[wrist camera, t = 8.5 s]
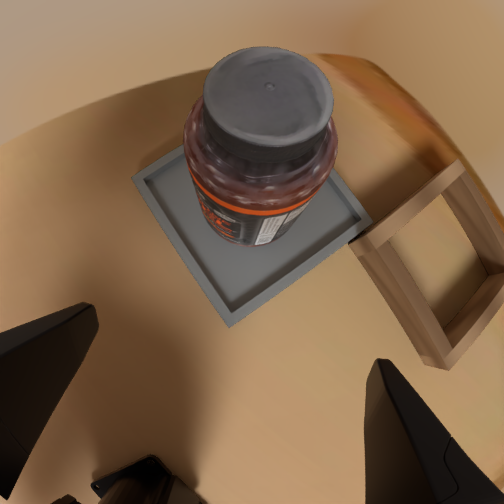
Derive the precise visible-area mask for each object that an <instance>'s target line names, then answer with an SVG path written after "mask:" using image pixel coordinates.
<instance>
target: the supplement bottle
mask: <svg viewBox="0 0 504 504" xmlns="http://www.w3.org/2000/svg"><path fill="white" fill-rule="evenodd" d="M333 104H334V98H333V93H332V88H331V86H330V83H329V81H328V79H327V78H326V76H325V75H324V73H323V72H322V71H321V70H320V69H319V68H318V67H317V66H316V65H315V64H314V63H312V62H310V61H309V60H308V59H307V58H305V57H303V56H301V55H299V54H297V53H295V52H291V51H289V50H285V49H281V48H276V47H251V48H246V49H241V50H238V51H236V52H234V53H232V54H229V55H228V56H226V57H224V58H223V59H221V60H220V61H219V62H217V63H216V65H215V66H214V67H213V68H212V69H211V70H210V72H209V74H208V75H207V77H206V79H205V83H204V88H203V94H202V95H201V97H200V98H199V99H198V100H197V101H196V103H195V104H194V105H193V107H192V109H191V111H190V113H189V114H188V117H187V120H186V123H185V127H184V136H183V145H184V154H185V157H186V161H187V165H188V169H189V173H190V175H191V178H192V182H193V185H194V187H195V191H196V194H197V197H198V200H199V204H200V206H201V210H202V212H203V215H204V218H205V219H206V221H207V223H208V224H209V225H210V227H211V228H212V229H213V230H214V231H215V232H216V233H217V234H218V235H219V236H220V237H222V238H223V239H225V240H226V241H228V242H230V243H233V244H236V245H239V246H243V247H256V246H263V245H266V244H269V243H271V242H274V241H275V240H277V239H279V238H280V237H281V236H283V235H284V234H285V233H286V232H287V231H288V230H289V229H290V228H291V226H292V225H293V224H294V222H295V221H296V220H297V218H298V217H299V216H300V215H301V213H302V212H303V210H304V209H305V208H306V206H307V205H308V204H309V202H310V201H311V200H312V198H313V197H314V196H315V194H316V193H317V192H318V191H319V189H320V188H321V186H322V185H323V183H324V182H325V181H326V179H327V178H328V176H329V174H330V172H331V170H332V168H333V166H334V163H335V159H336V156H337V149H338V137H337V131H336V128H335V125H334V122H333V119H332V117H331V114H332V112H333Z"/></svg>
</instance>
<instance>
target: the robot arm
mask: <svg viewBox="0 0 504 504" xmlns="http://www.w3.org/2000/svg"><path fill="white" fill-rule="evenodd" d="M98 328H99V323H98V318H97V314H96V310H95V307H94V305H92V304H89V303H86V302H82V303H79V304H76V305H74V306H71V307H68V308H66V309H63V310H60V311H57V312H55V313H52V314H49V315H47V316H44V317H41V318H39V319H36V320H33V321H31V322H28V323H25V324H23V325H20V326H18V327H15V328H12V329H10V330H7V331H4V332H2V333H0V495H1V496H2V497H3V498H4V499H6V500H8V498H9V497H10V495H11V492H12V490H13V488H14V486H15V484H16V482H17V480H18V478H19V476H20V473H21V471H22V469H23V467H24V465H25V463H26V461H27V459H28V457H29V455H30V453H31V451H32V449H33V448H34V446H35V444H36V442H37V440H38V438H39V436H40V434H41V433H42V431H43V429H44V427H45V425H46V424H47V422H48V420H49V418H50V416H51V415H52V413H53V411H54V409H55V408H56V406H57V404H58V402H59V401H60V399H61V397H62V396H63V394H64V392H65V390H66V389H67V387H68V385H69V384H70V382H71V380H72V379H73V377H74V376H75V374H76V372H77V371H78V369H79V367H80V365H81V364H82V362H83V360H84V358H85V356H86V354H87V352H88V350H89V347H90V345H91V343H92V341H93V339H94V337H95V335H96V334H97V332H98ZM364 444H365V504H504V493H502V492H501V491H500V490H499V489H498V488H497V487H496V485H495V484H494V483H493V482H492V481H491V480H490V479H489V478H488V477H487V476H486V475H485V474H484V473H483V472H482V471H481V470H480V469H479V468H478V467H477V465H476V464H475V463H474V462H473V461H472V460H471V459H470V458H469V457H468V456H467V454H466V453H465V452H464V451H463V449H462V448H461V447H460V446H459V445H458V443H457V442H456V441H455V439H454V438H453V437H451V434H450V433H449V432H448V431H447V429H446V428H445V427H444V426H443V424H442V423H441V422H440V421H439V419H438V418H437V417H436V416H435V414H434V413H433V412H432V411H431V409H430V408H429V407H428V406H427V404H426V403H425V402H424V401H423V399H422V398H421V397H420V396H419V394H418V393H417V392H416V391H415V390H414V388H413V387H412V386H411V385H410V383H409V382H408V381H407V380H406V379H405V377H404V376H403V375H402V374H401V373H400V371H399V370H398V369H397V368H396V366H395V365H394V364H393V363H392V362H391V361H390V360H389V359H380V358H378V359H376V360H375V362H374V364H373V366H372V368H371V371H370V373H369V375H368V378H367V382H366V400H365V417H364ZM149 460H152V461H154V464H152V463H150V462H149ZM96 485H97V486H99V488H98V487H97V486H96ZM91 488H92V489H93V491H94V492H95V493H96V494H97V495H98V496H99V497H100V498H101V500H100V502H99V503H98V504H202V503H201V502H199V498H198V497H197V496H196V495H195V494H194V493H193V492H192V491H191V490H190V489H189V488H188V487H187V486H186V485H185V484H184V483H183V482H182V481H181V480H180V479H179V478H178V477H177V476H176V475H173V474H172V473H171V472H170V471H169V470H168V469H167V468H166V466H165V465H164V464H163V463H162V462H161V461H160V460H159V459H158V457H156V456H155V455H151V454H150V455H147V456H145V457H143V458H141V459H139V460H137V461H135V462H133V463H131V464H129V465H127V466H124V467H122V468H120V469H118V470H116V471H114V472H112V473H110V474H107V475H105V476H103V477H101V478H98V479H96V480H94V481H93V482H92V483H91ZM51 504H81V503H79V502H77V501H76V499H75V498H74V497H72V496H70V495H69V494H67V495H66V496H64V497H62V498H61V499H60V498H59V499H57V500H56V501H54V502H53V503H51Z"/></svg>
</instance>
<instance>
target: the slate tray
mask: <svg viewBox="0 0 504 504" xmlns="http://www.w3.org/2000/svg"><path fill="white" fill-rule="evenodd" d="M131 179H132V180H133V182H134V184H135V185H136V187H137V189H138V190H139V192H140V194H141V195H142V197H143V199H144V200H145V202H146V204H147V205H148V207H149V208H150V210H151V212H152V213H153V215H154V216H155V218H156V220H157V221H158V223H159V224H160V226H161V228H162V229H163V231H164V232H165V234H166V235H167V237H168V239H169V240H170V242H171V243H172V245H173V246H174V248H175V249H176V251H177V253H178V254H179V256H180V257H181V259H182V260H183V262H184V263H185V265H186V266H187V268H188V269H189V271H190V272H191V274H192V275H193V277H194V278H195V280H196V281H197V283H198V284H199V286H200V287H201V289H202V290H203V292H204V293H205V294H206V296H207V297H208V299H209V300H210V302H211V303H212V305H213V306H214V308H215V309H216V310H217V312H218V313H219V315H220V316H221V318H222V319H223V320H224V322H225V323H226V325H227V326H228V327H229V328H230V327H231V326H233V325H234V324H236V323H237V322H239V321H240V320H242V319H243V318H244V317H246V316H247V315H249V314H250V313H252V312H253V311H254V310H256V309H257V308H259V307H260V306H262V305H263V304H264V303H266V302H267V301H269V300H270V299H271V298H273V297H274V296H276V295H277V294H278V293H280V292H281V291H283V290H284V289H285V288H287V287H288V286H289V285H291V284H292V283H294V282H295V281H296V280H298V279H299V278H300V277H302V276H303V275H305V274H306V273H307V272H309V271H310V270H311V269H313V268H314V267H315V266H317V265H318V264H319V263H321V262H322V261H323V260H325V259H326V258H327V257H329V256H330V255H331V254H333V253H334V252H335V251H337V250H338V249H339V248H341V247H342V246H343V245H345V244H346V243H347V242H349V241H350V240H351V239H352V238H354V237H355V236H356V235H358V234H359V233H360V232H362V231H363V230H364V229H365V228H367V227H368V226H369V225H370V224H372V223H373V220H372V219H371V218H370V216H369V215H368V213H367V212H366V211H365V209H364V208H363V206H362V205H361V204H360V202H359V201H358V200H357V198H356V197H355V196H354V194H353V193H352V192H351V190H350V189H349V188H348V186H347V185H346V184H345V182H344V181H343V180H342V178H341V177H340V176H339V175H338V173H337V172H336V171H335V169H334V168H332V170H331V172H330V174H329V176H328V178H327V179H326V181H325V182H324V183H323V185H322V186H321V188H320V189H319V191H318V192H317V193H316V194H315V196H314V197H313V198H312V200H311V201H310V202H309V204H308V205H307V206H306V208H305V209H304V210H303V212H302V213H301V215H300V216H299V217H298V218H297V220H296V221H295V222H294V224H293V225H292V226H291V228H290V229H289V230H288V231H287V232H286V233H285V234H284V235H283V236H281V237H280V238H279V239H277V240H275V241H274V242H271V243H269V244H266V245H263V246H256V247H243V246H239V245H236V244H233V243H230V242H228V241H226V240H225V239H223V238H222V237H220V236H219V235H218V234H217V233H216V232H215V231H214V230H213V229H212V228H211V227H210V225H209V224H208V223H207V221H206V219H205V218H204V215H203V212H202V210H201V206H200V204H199V200H198V197H197V194H196V191H195V187H194V185H193V182H192V178H191V175H190V173H189V169H188V165H187V161H186V157H185V154H184V145H183V144H182V145H181V146H179V147H177V148H176V149H174V150H172V151H171V152H169V153H168V154H166V155H164V156H163V157H161V158H160V159H158V160H156V161H155V162H153V163H152V164H150V165H149V166H147V167H146V168H144V169H143V170H141V171H140V172H138V173H137V174H135V175H134V176H132V177H131Z"/></svg>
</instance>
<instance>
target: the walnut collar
mask: <svg viewBox="0 0 504 504" xmlns="http://www.w3.org/2000/svg"><path fill="white" fill-rule="evenodd" d="M440 193H441V194H442V195H443V197H444V198H445V200H446V202H447V203H448V205H449V206H450V208H451V209H452V211H453V212H454V214H455V216H456V217H457V219H458V221H459V222H460V224H461V226H462V227H463V229H464V231H465V232H466V234H467V236H468V237H469V239H470V241H471V243H472V245H473V246H474V248H475V250H476V252H477V254H478V256H479V257H480V259H481V261H482V263H483V265H484V267H485V269H486V271H487V273H488V275H489V276H488V277H487V279H486V280H485V281H484V282H483V284H482V285H481V286H480V288H479V289H478V290H477V291H476V293H475V294H474V295H473V296H472V297H471V299H470V300H469V301H468V302H467V304H466V305H465V306H464V307H463V308H462V309H461V311H460V312H459V313H458V314H457V315H456V316H455V317H454V319H453V320H452V321H451V322H450V323H449V324H448V325H447V326H446V327H445V329H444V330H442V328H441V326H440V324H439V323H438V321H437V319H436V317H435V316H434V314H433V312H432V310H431V309H430V307H429V305H428V303H427V302H426V300H425V298H424V297H423V295H422V293H421V292H420V290H419V288H418V287H417V285H416V283H415V282H414V280H413V278H412V277H411V275H410V274H409V272H408V270H407V269H406V267H405V266H404V264H403V263H402V261H401V259H400V258H399V256H398V255H397V253H396V252H395V250H394V249H393V247H392V246H391V244H390V243H389V241H388V239H389V238H390V237H391V236H393V235H394V234H395V233H396V232H397V231H398V230H400V229H401V228H402V227H403V226H404V225H405V224H407V223H408V222H409V221H410V220H411V219H412V218H413V217H415V216H416V215H417V214H418V213H419V212H420V211H421V210H423V209H424V208H425V207H426V206H427V205H428V204H429V203H430V202H431V201H433V200H434V199H435V198H436V197H437V196H438V195H439V194H440ZM349 247H350V248H351V249H352V251H353V252H354V254H355V255H356V257H357V258H358V260H359V261H360V262H361V264H362V265H363V267H364V268H365V270H366V271H367V273H368V274H369V276H370V277H371V279H372V280H373V282H374V283H375V285H376V286H377V288H378V289H379V291H380V292H381V294H382V296H383V297H384V299H385V300H386V302H387V303H388V305H389V306H390V308H391V310H392V311H393V313H394V314H395V316H396V318H397V319H398V321H399V322H400V324H401V326H402V327H403V329H404V330H405V332H406V334H407V335H408V337H409V339H410V340H411V342H412V344H413V345H414V347H415V349H416V350H417V352H418V354H419V356H420V357H421V359H422V361H423V363H424V364H425V365H427V366H431V367H435V368H439V369H443V370H448V371H449V370H450V369H451V368H452V367H453V366H454V365H455V364H456V362H457V361H458V360H459V359H460V358H461V357H462V356H463V354H464V353H465V352H466V351H467V350H468V348H469V347H470V346H471V345H472V344H473V342H474V341H475V340H476V339H477V338H478V336H479V335H480V334H481V332H482V331H483V330H484V329H485V327H486V326H487V325H488V323H489V322H490V321H491V319H492V318H493V317H494V315H495V314H496V313H497V311H498V310H499V308H500V307H501V306H502V304H503V303H504V233H503V232H502V230H501V228H500V226H499V224H498V222H497V220H496V219H495V217H494V215H493V213H492V211H491V210H490V208H489V206H488V204H487V203H486V201H485V199H484V198H483V196H482V194H481V193H480V191H479V189H478V188H477V186H476V185H475V183H474V182H473V180H472V178H471V177H470V175H469V174H468V172H467V171H466V169H465V168H464V166H463V165H462V163H461V162H460V161H459V159H457V160H455V161H454V162H452V163H451V164H450V165H448V166H447V167H445V168H444V169H443V170H441V171H440V172H438V173H437V174H436V175H435V176H433V177H432V178H431V179H430V180H429V181H427V182H426V183H425V184H424V185H423V186H421V187H420V188H419V189H418V190H417V191H415V192H414V193H413V194H412V195H411V196H409V197H408V198H407V199H406V200H404V201H403V202H402V203H401V204H400V205H398V206H397V207H396V208H395V209H393V210H392V211H391V212H390V213H388V214H387V215H386V216H385V217H383V218H382V219H381V220H380V221H378V222H377V223H376V224H375V225H373V226H372V227H371V228H370V229H368V230H367V231H366V232H364V233H363V234H362V235H361V236H359V237H358V238H357V239H355V240H354V241H353V242H352V243H350V244H349Z"/></svg>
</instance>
